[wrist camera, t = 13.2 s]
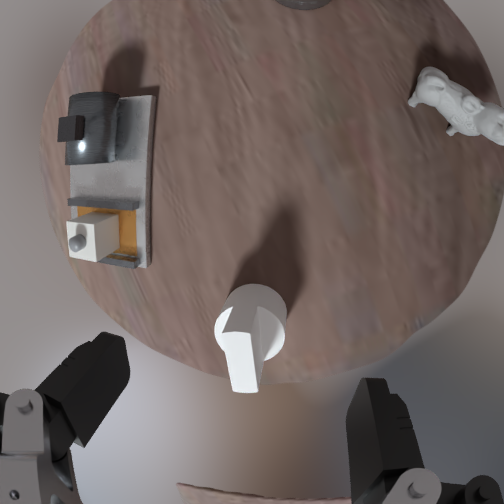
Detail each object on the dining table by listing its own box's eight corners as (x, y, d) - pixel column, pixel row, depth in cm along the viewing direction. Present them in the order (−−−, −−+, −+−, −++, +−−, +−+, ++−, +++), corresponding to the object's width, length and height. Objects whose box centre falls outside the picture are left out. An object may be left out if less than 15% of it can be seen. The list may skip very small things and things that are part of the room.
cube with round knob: (91, 211, 40) (59, 224, 32) (118, 214, 39) (86, 227, 32) (93, 243, 41) (63, 260, 34) (119, 248, 41) (90, 266, 34)
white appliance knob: (220, 284, 42) (194, 330, 31) (285, 282, 40) (279, 330, 29) (229, 337, 45) (209, 391, 33) (288, 337, 43) (283, 393, 32)
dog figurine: (470, 153, 31) (516, 158, 21) (398, 100, 31) (432, 84, 21) (482, 123, 29) (527, 120, 19) (411, 69, 29) (446, 46, 19)
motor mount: (79, 105, 36) (34, 101, 27) (156, 96, 35) (116, 83, 25) (80, 252, 44) (40, 274, 34) (151, 264, 42) (115, 293, 33)
